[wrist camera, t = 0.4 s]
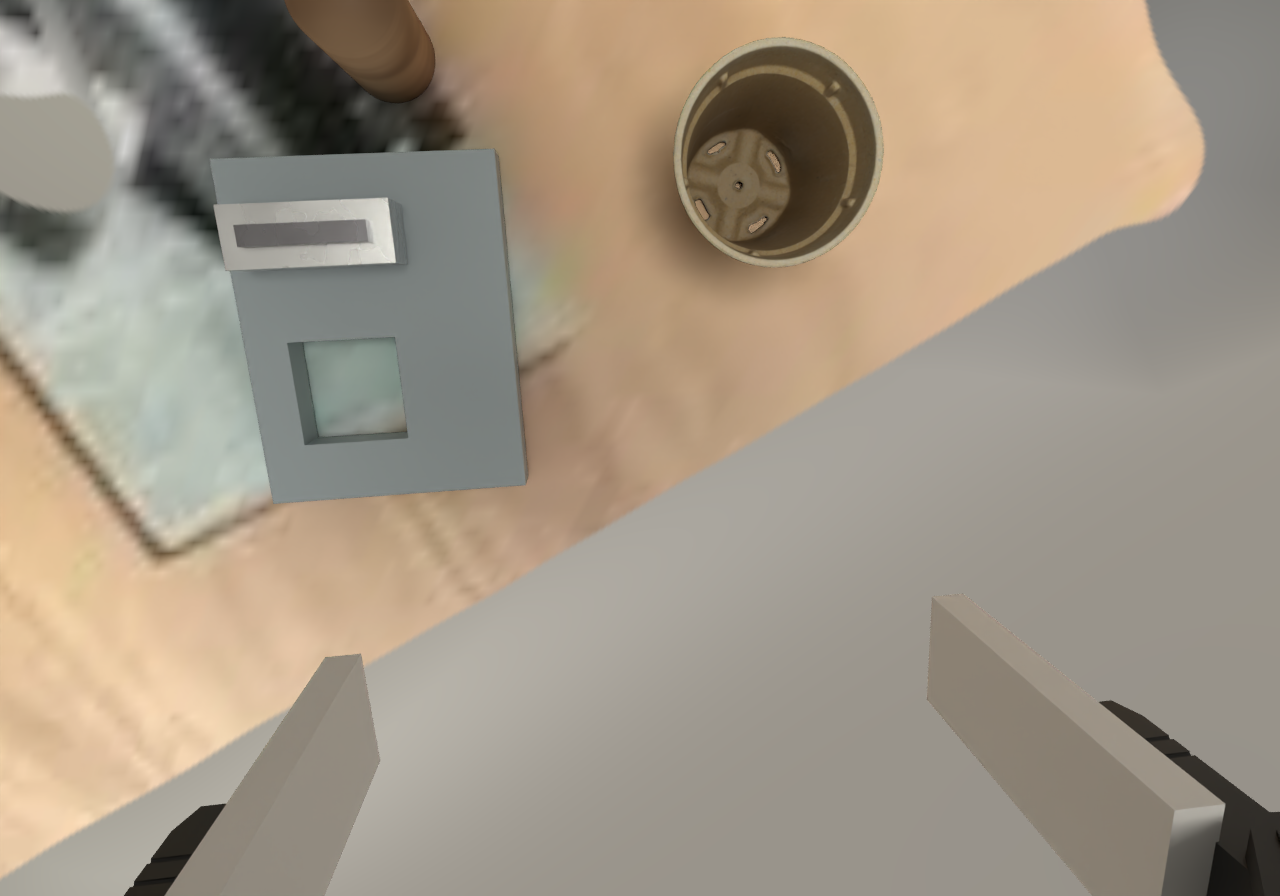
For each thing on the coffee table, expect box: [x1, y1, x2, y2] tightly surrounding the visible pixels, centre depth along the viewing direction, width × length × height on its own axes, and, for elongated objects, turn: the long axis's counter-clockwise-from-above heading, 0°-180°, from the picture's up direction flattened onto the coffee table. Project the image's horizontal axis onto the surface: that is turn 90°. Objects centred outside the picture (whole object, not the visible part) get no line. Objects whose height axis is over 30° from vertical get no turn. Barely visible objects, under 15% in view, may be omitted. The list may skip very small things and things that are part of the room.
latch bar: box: [213, 198, 408, 272], centre depth 33 cm, size 3×8×3 cm, turn 93°
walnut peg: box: [284, 0, 435, 103], centre depth 31 cm, size 4×4×8 cm
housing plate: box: [209, 149, 528, 504], centre depth 37 cm, size 18×14×2 cm
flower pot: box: [673, 37, 884, 267], centre depth 34 cm, size 9×9×9 cm
